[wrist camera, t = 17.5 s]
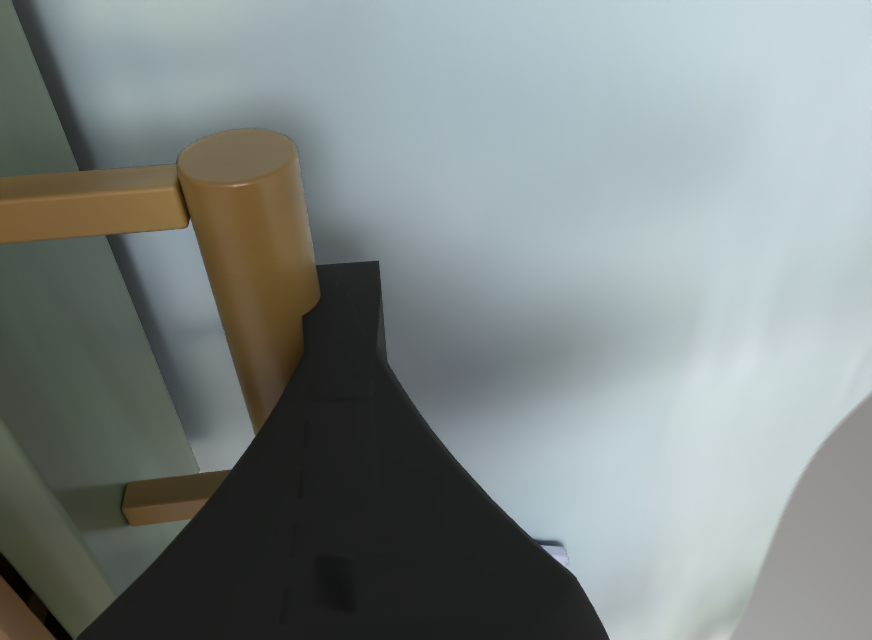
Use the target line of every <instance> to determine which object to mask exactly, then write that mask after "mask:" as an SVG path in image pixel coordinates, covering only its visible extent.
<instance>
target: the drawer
mask: <svg viewBox="0 0 872 640" xmlns="http://www.w3.org/2000/svg"><path fill="white" fill-rule="evenodd" d="M190 218H191V221H192V225H193V228H194V231H195V235H196V238H197V241H198V245H199V248H200V252H201V255H202V258H203V262H204V265H205V268H206V272H207V275H208V278H209V282H210V285H211V289H212V292H213V295H214V299H215V302H216V305H217V309H218V312H219V316H220V319H221V322H222V326H223V329H224V332H225V336H226V339H227V343H228V346H229V349H230V353H231V356H232V359H233V363H234V366H235V370H236V373H237V376H238V380H239V383H240V386H241V390H242V393H243V396H244V400H245V403H246V407H247V410H248V413H249V417H250V420H251V423H252V427H253V430H254V434H255V437H256V435H257V434H258V432H259V431H260V429H261V428H262V426H263V425H264V423H265V421H266V420H267V418H268V417H269V415H270V414H271V412H272V410H273V409H274V407H275V405H276V404H277V402H278V400H279V399H280V397H281V395H282V393H283V391H284V390H285V388H286V386H287V384H288V382H289V380H290V378H291V377H292V375H293V373H294V371H295V369H296V367H297V365H298V364H299V362H300V360H301V358H302V356H303V354H304V352H305V349H304V336H303V323H302V315H304V314H306V313H307V312H309V311H310V310H311V309H313V308H314V307H315V305H316V304H317V303H318V301H319V299H320V295H321V294H320V287H319V281H318V275H317V268H316V262H315V256H314V250H313V244H312V237H311V231H310V225H309V219H308V213H307V207H306V200H305V194H304V188H303V182H302V176H301V170H300V163H299V157H298V151H297V148H296V146H295V144H294V143H293V141H292V140H291V139H290V138H288V137H287V136H285V135H283V134H281V133H278V132H275V131H271V130H266V129H256V128H246V129H234V130H227V131H222V132H218V133H215V134H211V135H208V136H206V137H203V138H201V139H199V140H197V141H195V142H193V143H191V144H190V145H188V146H187V147H186V148H185V149H184V150H183V151H182V152H181V153H180V154H179V156H178V158H177V162H176V164H167V165H154V166H141V167H128V168H115V169H102V170H89V171H80V170H79V168H78V165H77V163H76V160H75V158H74V155H73V153H72V150H71V148H70V145H69V143H68V140H67V138H66V135H65V133H64V130H63V128H62V125H61V123H60V120H59V118H58V115H57V113H56V111H55V108H54V106H53V103H52V101H51V98H50V96H49V93H48V91H47V88H46V86H45V83H44V81H43V78H42V76H41V73H40V71H39V68H38V66H37V63H36V61H35V58H34V56H33V53H32V51H31V48H30V46H29V43H28V41H27V38H26V36H25V33H24V31H23V28H22V26H21V23H20V21H19V18H18V16H17V13H16V11H15V8H14V6H13V3H12V1H11V0H0V575H1V576H2V577H3V578H4V579H5V580H6V582H7V583H8V584H9V585H10V586H11V587H12V589H13V590H14V591H15V592H16V593H17V594H18V595H19V597H20V598H21V599H22V600H23V601H24V602H25V603H26V605H27V606H28V607H29V608H30V609H31V610H32V612H33V613H34V614H35V615H36V616H37V617H38V618H39V620H40V621H41V622H42V623H43V624H44V623H45V619H46V616H47V612H48V610H49V611H50V612H51V614H52V615H53V616H54V617H55V618H56V620H57V621H58V622H59V623H60V624H61V626H62V627H63V628H64V629H65V630H66V632H67V633H68V634H69V635H70V636H71V638H72V639H73V640H76V638H77V636H78V635H79V634H80V633H81V632H82V631H83V630H84V629H86V628H87V627H88V626H89V625H90V624H91V623H92V622H93V621H94V620H95V619H96V618H97V617H98V616H99V615H100V614H101V613H102V612H103V611H104V610H105V609H106V608H107V607H108V606H109V605H110V604H111V603H112V602H113V601H114V600H115V599H116V598H117V597H118V596H119V595H121V594H122V593H123V592H124V591H125V590H126V589H127V588H128V587H129V586H130V585H131V584H132V583H133V582H134V581H135V580H136V579H137V578H138V577H139V576H140V575H141V574H142V573H143V572H144V571H145V570H146V569H147V568H148V567H149V566H150V565H151V564H152V563H153V562H154V561H155V560H156V558H157V557H158V556H159V555H160V554H161V553H162V552H163V551H164V550H165V549H166V547H167V546H168V545H169V544H170V543H171V542H172V541H173V540H174V538H175V537H176V536H177V535H178V534H179V533H180V532H181V530H182V529H183V528H184V527H185V526H186V525H187V524H188V523H189V521H190V520H191V519H192V518H193V517H194V516H195V515H196V514H197V512H198V511H199V510H200V509H201V508H202V507H203V506H204V504H205V503H206V502H207V501H208V500H209V498H210V497H211V496H212V495H213V493H214V492H215V491H216V490H217V488H218V487H219V486H220V485H221V483H222V482H223V481H224V479H225V478H226V477H227V475H228V474H229V473H230V471H231V470H232V469H231V470H223V471H214V472H206V473H199V471H200V469H199V466H198V464H197V462H196V459H195V457H194V454H193V452H192V449H191V447H190V444H189V442H188V439H187V437H186V434H185V432H184V429H183V427H182V424H181V422H180V419H179V417H178V414H177V412H176V409H175V407H174V404H173V402H172V399H171V397H170V394H169V392H168V389H167V387H166V384H165V382H164V379H163V377H162V374H161V372H160V369H159V367H158V364H157V362H156V359H155V357H154V354H153V352H152V349H151V347H150V345H149V342H148V340H147V337H146V335H145V332H144V330H143V327H142V325H141V322H140V320H139V317H138V315H137V312H136V310H135V307H134V305H133V302H132V300H131V297H130V295H129V292H128V290H127V287H126V285H125V282H124V280H123V277H122V275H121V272H120V270H119V267H118V265H117V262H116V260H115V257H114V255H113V252H112V250H111V247H110V245H109V242H108V240H107V237H106V235H114V234H126V233H137V232H149V231H161V230H173V229H184V228H186V227H188V224H189V220H190Z"/></svg>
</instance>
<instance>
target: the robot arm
mask: <svg viewBox="0 0 872 640" xmlns="http://www.w3.org/2000/svg"><path fill="white" fill-rule="evenodd" d="M316 268H317V275H318V281H319V287H320V294H321V295H320V299H319V301H318V303H317V304H316V305H315V307H314V308H313V309H311V310H310V311H309V312H307V313H306V314H304V315H302V323H303V336H304V349H305V352H304V354H303V356H302V358H301V360H300V362H299V364H298V365H297V367H296V369H295V371H294V373H293V375H292V377H291V378H290V380H289V382H288V384H287V386H286V388H285V390H284V391H283V393H282V395H281V397H280V399H279V400H278V402H277V404H276V405H275V407H274V409H273V410H272V412H271V414H270V415H269V417H268V418H267V420H266V421H265V423H264V425H263V426H262V428H261V429H260V431H259V432H258V434H257V435H256V437H255V438H254V440H253V441H252V443H251V444H250V445H249V447H248V448H247V450H246V451H245V452H244V454H243V455H242V456H241V458H240V459H239V461H238V462H237V463H236V465H235V466H234V467H233V469H232V470H231V471H230V473H229V474H228V475H227V477H226V478H225V479H224V481H223V482H222V483H221V485H220V486H219V487H218V488H217V490H216V491H215V492H214V493H213V495H212V496H211V497H210V498H209V500H208V501H207V502H206V503H205V504H204V506H203V507H202V508H201V509H200V510H199V511H198V512H197V514H196V515H195V516H194V517H193V518H192V519H191V520H190V521H189V523H188V524H187V525H186V526H185V527H184V528H183V529H182V530H181V532H180V533H179V534H178V535H177V536H176V537H175V538H174V540H173V541H172V542H171V543H170V544H169V545H168V546H167V547H166V549H165V550H164V551H163V552H162V553H161V554H160V555H159V556H158V557H157V558H156V560H155V561H154V562H153V563H152V564H151V565H150V566H149V567H148V568H147V569H146V570H145V571H144V572H143V573H142V574H141V575H140V576H139V577H138V578H137V579H136V580H135V581H134V582H133V583H132V584H131V585H130V586H129V587H128V588H127V589H126V590H125V591H124V592H123V593H122V594H121V595H119V596H118V597H117V598H116V599H115V600H114V601H113V602H112V603H111V604H110V605H109V606H108V607H107V608H106V609H105V610H104V611H103V612H102V613H101V614H100V615H99V616H98V617H97V618H96V619H95V620H94V621H93V622H92V623H91V624H90V625H89V626H88V627H87V628H86V629H84V630H83V631H82V632H81V633H80V634H79V635H78V636H77V638H76V640H610V639H609V637H608V635H607V633H606V630H605V628H604V626H603V624H602V623H601V621H600V619H599V617H598V615H597V613H596V611H595V609H594V607H593V606H592V604H591V602H590V600H589V599H588V597H587V595H586V594H585V592H584V590H583V588H582V587H581V585H580V583H579V582H578V580H577V578H576V577H575V576H574V575H573V574H572V573H571V572H570V571H569V570H568V569H566V568H565V567H566V565H567V564H568V562H569V557H568V554H567V551H566V549H564V548H563V547H559V546H546V545H539V544H538V543H537V542H536V541H535V540H534V539H533V538H531V537H530V536H529V535H528V534H527V533H526V532H525V531H524V530H523V529H522V528H521V527H520V526H519V525H518V524H517V523H516V522H515V521H514V520H513V519H512V518H510V517H509V516H508V515H507V514H506V513H505V512H504V511H503V510H502V509H501V508H500V507H499V506H498V505H497V504H496V503H495V502H494V501H493V500H492V499H491V497H490V496H489V495H488V494H487V493H486V492H485V491H484V490H483V489H482V488H481V486H480V485H479V484H478V483H477V482H476V481H475V480H474V479H473V478H472V477H471V475H470V474H469V473H468V472H467V471H466V470H465V469H464V468H463V467H462V465H461V464H460V463H459V462H458V461H457V460H456V459H455V458H454V457H453V455H452V454H451V453H450V452H449V450H448V449H447V448H446V447H445V445H444V444H443V443H442V442H441V440H440V439H439V438H438V437H437V435H436V434H435V433H434V432H433V430H432V429H431V427H430V426H429V425H428V423H427V422H426V421H425V419H424V418H423V417H422V415H421V414H420V413H419V411H418V410H417V408H416V407H415V405H414V404H413V402H412V401H411V399H410V398H409V396H408V395H407V393H406V392H405V390H404V389H403V387H402V386H401V384H400V382H399V381H398V379H397V377H396V376H395V374H394V372H393V371H392V369H391V368H390V366H389V364H388V362H387V352H386V340H385V327H384V315H383V303H382V290H381V279H380V269H379V261H367V262H355V263H342V264H329V265H316Z"/></svg>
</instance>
